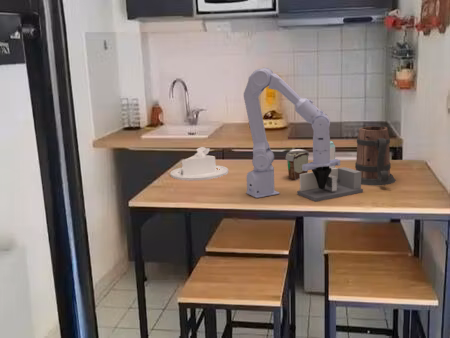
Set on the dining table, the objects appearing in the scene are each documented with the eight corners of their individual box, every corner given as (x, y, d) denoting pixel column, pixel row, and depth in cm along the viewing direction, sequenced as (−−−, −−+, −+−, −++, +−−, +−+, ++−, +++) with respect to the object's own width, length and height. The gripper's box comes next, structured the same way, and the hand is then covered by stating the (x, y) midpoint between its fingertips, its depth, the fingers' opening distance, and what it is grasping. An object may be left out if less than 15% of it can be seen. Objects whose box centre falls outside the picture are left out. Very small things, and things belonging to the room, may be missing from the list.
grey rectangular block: (332, 191, 175) (332, 176, 173) (319, 187, 181) (319, 172, 180) (344, 189, 177) (345, 174, 176) (331, 184, 183) (331, 170, 182)
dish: (201, 165, 236) (200, 141, 233) (240, 172, 218) (239, 146, 215) (158, 175, 219) (156, 150, 216) (197, 184, 201) (195, 156, 199)
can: (316, 171, 211) (316, 143, 208) (319, 168, 217) (319, 140, 214) (333, 172, 208) (333, 143, 205) (336, 168, 215) (336, 140, 212)
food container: (296, 173, 210) (295, 149, 208) (309, 174, 207) (309, 150, 204) (279, 179, 201) (279, 154, 199) (293, 181, 197) (292, 156, 195)
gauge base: (315, 201, 170) (315, 180, 168) (297, 194, 180) (296, 174, 178) (362, 192, 178) (363, 172, 176) (342, 185, 188) (343, 166, 186)
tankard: (345, 175, 202) (345, 125, 198) (387, 173, 202) (388, 123, 198) (360, 191, 179) (361, 135, 175) (408, 189, 179) (410, 132, 175)
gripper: (310, 154, 167) (310, 194, 170) (346, 148, 173) (345, 187, 176) (298, 151, 173) (299, 189, 176) (333, 145, 179) (333, 183, 182)
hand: (321, 188), depth 177 cm, fingers closed
